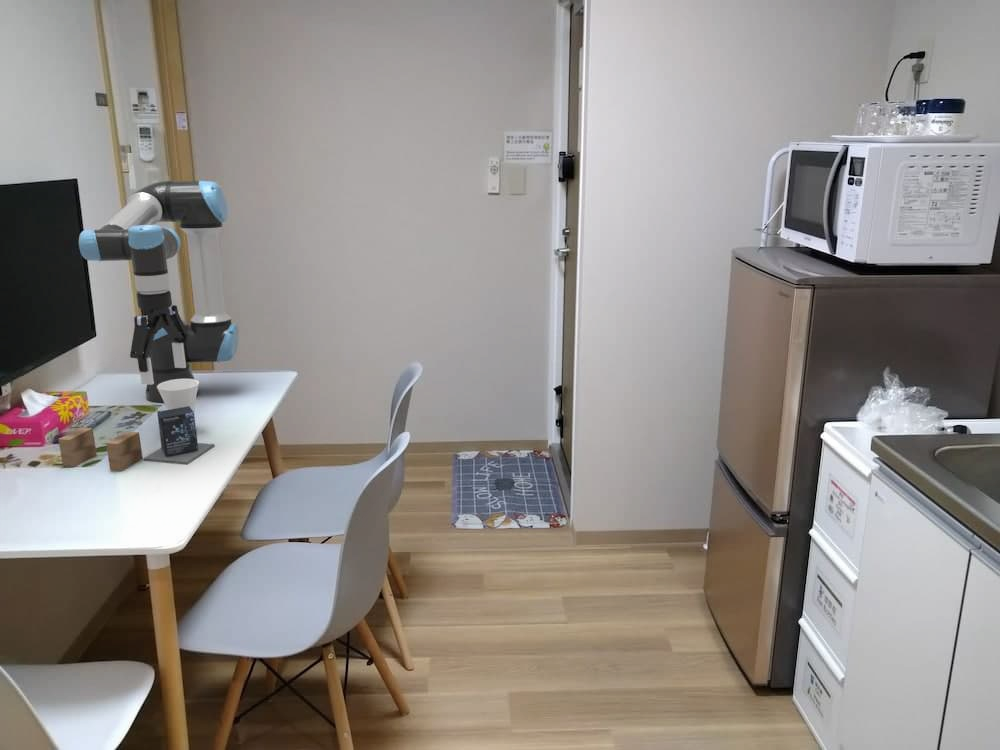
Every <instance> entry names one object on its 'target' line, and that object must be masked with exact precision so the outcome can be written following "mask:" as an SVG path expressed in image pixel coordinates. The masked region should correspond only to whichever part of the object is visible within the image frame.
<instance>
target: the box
mask: <svg viewBox="0 0 1000 750" xmlns="http://www.w3.org/2000/svg"><path fill="white" fill-rule="evenodd" d="M156 413H157V421H158V430H159V431H158V432H159V437H160V438H159V439H160V446H161V447H160V448H162V451H163V453H164V454H165V456H166V457H168V456H171V455H177V454H182V453H187V452H193V451H198V443H199V442H198V435H197V430H196V429H197V425H195V424H196V418H195V411H194V412H193V411H192V409H191V408H190V407H189V406H187V407H182V408H176V409H170V410H167V409H165V410H158V411H156Z"/></svg>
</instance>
